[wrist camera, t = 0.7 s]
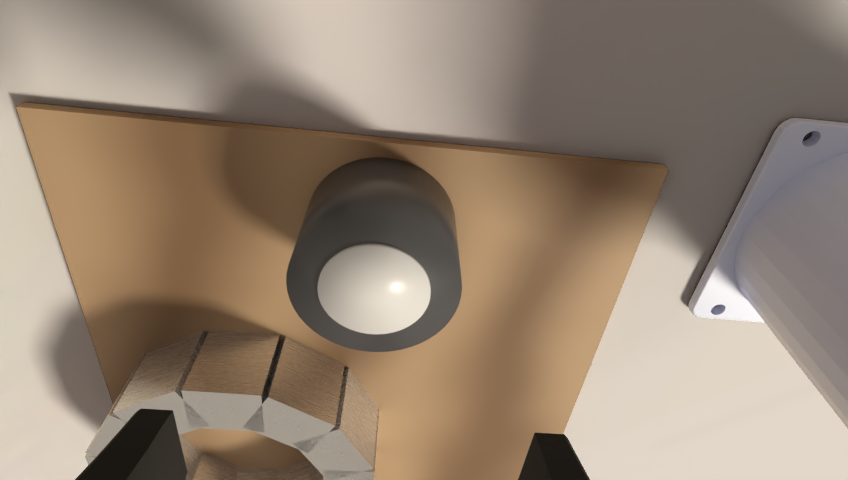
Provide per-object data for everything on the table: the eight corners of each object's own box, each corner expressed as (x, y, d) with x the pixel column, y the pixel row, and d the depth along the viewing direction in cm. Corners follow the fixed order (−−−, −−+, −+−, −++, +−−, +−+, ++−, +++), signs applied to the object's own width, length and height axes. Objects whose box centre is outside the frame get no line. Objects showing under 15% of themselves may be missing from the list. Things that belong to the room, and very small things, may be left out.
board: (664, 164, 17) (669, 169, 17) (530, 503, 29) (531, 510, 28) (24, 102, 16) (16, 106, 16) (144, 483, 27) (141, 490, 27)
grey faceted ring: (385, 342, 21) (380, 403, 19) (370, 497, 27) (366, 558, 25) (99, 321, 21) (55, 382, 18) (149, 485, 27) (122, 547, 24)
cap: (465, 165, 17) (475, 226, 14) (445, 287, 20) (449, 361, 17) (306, 149, 17) (281, 209, 14) (308, 276, 19) (287, 349, 16)
